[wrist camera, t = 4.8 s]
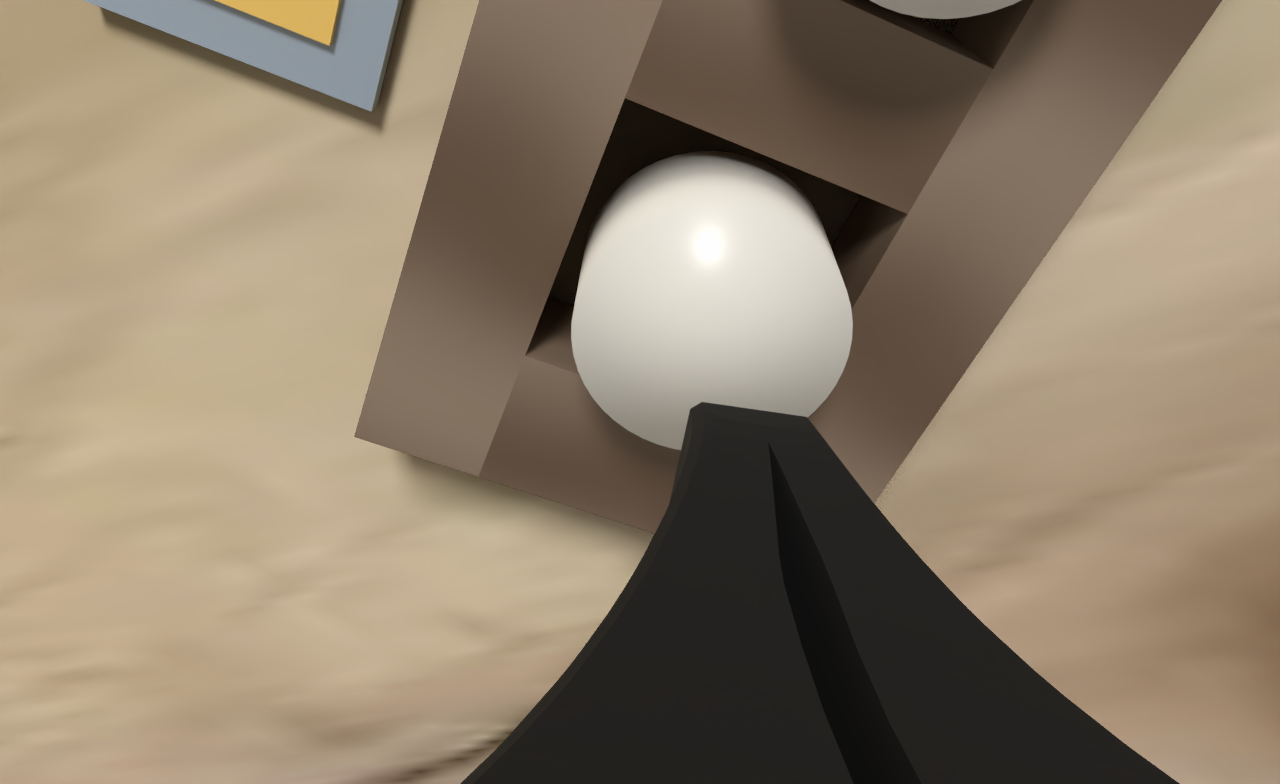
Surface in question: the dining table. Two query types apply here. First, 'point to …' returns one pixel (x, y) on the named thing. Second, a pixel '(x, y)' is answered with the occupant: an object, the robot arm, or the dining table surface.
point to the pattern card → (286, 37)
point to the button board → (780, 129)
